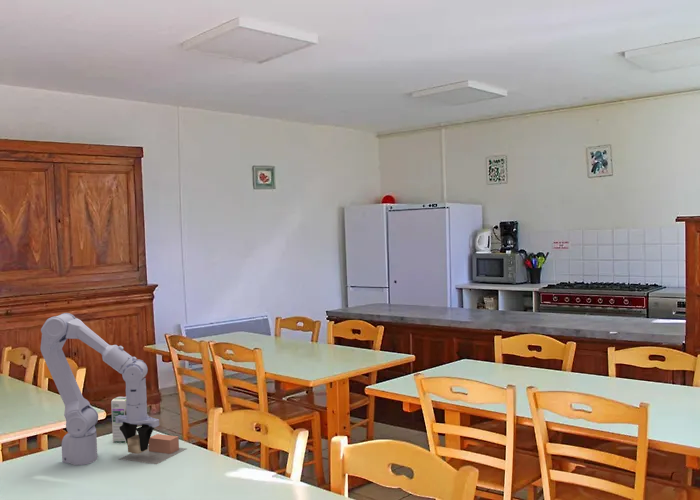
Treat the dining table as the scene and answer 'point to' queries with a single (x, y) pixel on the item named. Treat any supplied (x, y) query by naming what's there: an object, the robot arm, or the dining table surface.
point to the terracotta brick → (164, 443)
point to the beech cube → (134, 445)
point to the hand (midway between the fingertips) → (138, 449)
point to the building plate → (150, 456)
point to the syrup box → (118, 409)
